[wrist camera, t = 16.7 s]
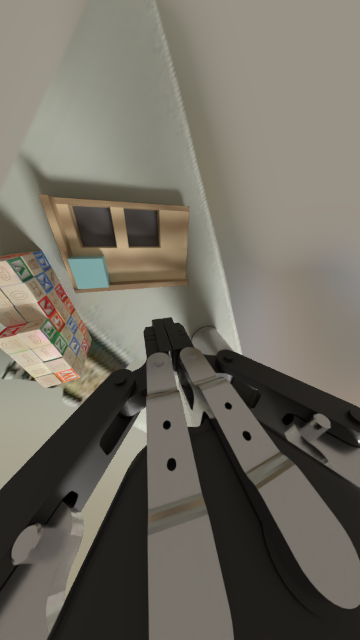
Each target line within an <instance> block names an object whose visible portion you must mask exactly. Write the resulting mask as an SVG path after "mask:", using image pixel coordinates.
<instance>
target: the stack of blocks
mask: <svg viewBox="0 0 360 640" xmlns="http://www.w3.org/2000/svg"><path fill="white" fill-rule="evenodd" d="M0 322H1V323H2V324H3V325H4V326H6V327H7V328H5V329H4V330H3V331H2V332H1V333H0V348H1V349H2V350H3V351H5V352H6V353H7V354H9V355H10V356H11V357H12V358H13V359H14V360H15V361H16V362H17V363H18V364H20V365H21V366H22V367H23V368H24V369H25V370H26V371H27V372H28V373H29V374H30V375H31V376H33V377H34V378H35V380H36V381H38V382H39V383H40V384H41V385H42V386H43V387H44V388H46V387H49V386H53V385H57V384H61V383H62V382H67V381H71V380H74V379H78V378H80V377H81V373H82V370H83V366H84V364H85V360H86V357H87V353H88V349H89V346H90V344H91V340H92V338H91V337H90V335H89V333H88V331H87V329H86V327H85V325H84V323H83V322H82V320H81V318H80V316H79V314H78V313H77V311H76V309H75V308H74V307H73V305H72V303H71V301H70V300H69V298H68V297H67V295H66V293H65V291H64V290H63V288H62V286H61V285H60V282H59V280H58V278H57V276H56V275H55V273H54V271H53V269H52V268H51V266H50V264H49V263H48V261H47V259H46V257H45V256H44V254H43V252H42V251H41V250H40V251H32V252H24V253H15V254H8V255H3V256H0Z"/></svg>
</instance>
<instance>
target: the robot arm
mask: <svg viewBox="0 0 360 640" xmlns="http://www.w3.org/2000/svg"><path fill="white" fill-rule="evenodd" d="M144 339H145V347H146V355H147V360H146V362H145V364H144V365H143V366H142V367H141V368H139V369H137V370H135V371H133V372H131V371H130V370H127V369H120V370H117V371H115V372H113V373H112V374H110V375H109V376H108V377H107V379H106V380H105V381H104V382H103V383H102V384H101V385H100V386H99V387H98V388H97V389H96V390H95V391H94V392H93V393H92V394H91V395H90V396H89V397H88V398H87V399H86V401H85V402H84V403H83V404H82V405H81V406H80V407H79V408H78V409H77V410H76V411H75V412H74V413H73V414H72V415H71V416H70V417H69V418H68V419H67V420H66V421H65V423H64V424H63V425H62V426H61V427H60V428H59V429H58V430H57V431H56V432H55V433H54V434H53V435H52V436H51V437H50V439H48V440H47V441H46V442H45V444H44V445H43V446H42V447H41V448H40V449H39V450H38V451H37V452H36V453H35V454H34V455H33V456H32V457H31V458H30V459H29V460H28V461H27V462H26V463H25V464H24V466H23V467H22V468H21V469H20V470H19V471H18V472H17V473H16V474H15V475H14V476H13V477H12V478H11V479H10V480H9V481H8V482H7V483H6V484H5V485H4V486H3V488H2V489H1V490H0V640H360V408H359V407H357V406H355V405H353V404H351V403H349V402H346V401H344V400H342V399H340V398H337V397H335V396H333V395H331V394H328V393H326V392H324V391H322V390H319V389H317V388H315V387H313V386H310V385H308V384H306V383H303V382H301V381H299V380H297V379H294V378H292V377H290V376H288V375H285V374H283V373H281V372H278V371H276V370H274V369H272V368H270V367H267V366H265V365H263V364H261V363H258V362H256V361H253V360H252V359H249V358H247V357H245V356H243V355H240V354H238V353H236V352H234V351H233V350H232V349H231V347H230V346H229V345H228V344H227V343H226V341H225V340H224V339H223V338H222V336H221V335H220V334H219V333H218V332H217V330H216V329H215V328H213V327H203V328H201V329H199V330H198V331H197V332H196V333H195V334H194V335H193V337H192V342H191V340H190V338H189V336H188V335H187V332H186V331H185V329H184V327H183V326H182V325H181V324H180V323H174V322H173V320H172V318H171V317H170V318H162V319H154V320H152V326H151V327H146V328H145V330H144ZM174 375H178V378H179V387H180V390H181V392H182V395H183V397H184V399H185V402H186V405H187V407H188V409H189V412H190V415H191V420H192V425H193V427H187V423H186V419H185V414H184V410H183V405H182V400H181V396H180V392H179V390H177V386H176V381H175V376H174ZM256 389H257V390H256ZM145 407H146V412H147V445H146V446H145V447H144V448H143V449H142V450H141V451H140V452H139V453H138V454H137V456H136V457H135V459H134V460H133V461H132V463H131V465H130V466H129V468H128V470H127V472H126V474H125V476H124V478H123V480H122V482H121V484H120V486H119V489H118V490H117V493H116V495H115V497H114V499H113V501H112V503H111V505H110V507H109V510H108V512H107V514H106V516H105V518H104V520H103V522H102V524H101V526H100V528H99V531H98V533H97V535H96V537H95V539H94V541H93V543H92V545H91V547H90V549H89V551H88V554H87V556H86V558H85V560H84V562H83V564H82V566H81V568H80V570H79V573H78V575H77V577H76V579H75V581H74V583H73V585H72V587H71V590H70V591H69V594H68V596H67V598H66V600H65V602H64V597H65V588H66V583H67V579H68V575H69V572H70V569H71V566H72V564H73V561H74V559H75V556H76V554H77V552H78V550H79V547H80V544H81V540H82V536H83V528H84V524H83V517H82V515H81V513H80V512H81V511H82V509H83V507H84V506H85V504H86V502H87V501H88V499H89V497H90V496H91V494H92V492H93V490H94V489H95V487H96V485H97V484H98V482H99V480H100V479H101V477H102V475H103V474H104V472H105V470H106V469H107V467H108V465H109V463H110V462H111V460H112V459H113V457H114V455H115V454H116V452H117V450H118V448H119V447H120V445H121V444H122V442H123V440H124V438H125V437H126V435H127V433H128V432H129V430H130V428H131V427H132V425H133V423H134V422H135V420H136V418H137V417H138V415H139V413H140V411H141V410H142V409H144V408H145Z"/></svg>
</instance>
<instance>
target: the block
mask: <svg viewBox="0 0 360 640" xmlns="http://www.w3.org/2000/svg"><path fill="white" fill-rule="evenodd" d="M68 262H69V265H70V268H71V270H72V273H73V276H74V279H75V282H76V284H77V287H78V289H90V288H105V287H109V285H110V278H109V274H108V270H107V265H106V261H105V256H104V255H102V256H72V257H70V258H69V259H68Z"/></svg>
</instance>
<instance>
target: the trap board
mask: <svg viewBox="0 0 360 640" xmlns="http://www.w3.org/2000/svg"><path fill="white" fill-rule="evenodd" d="M39 197H40V200H41V202H42V205H43V208H44V210H45V213H46V216H47V218H48V221H49V224H50V226H51V229H52V232H53V234H54V237H55V240H56V242H57V245H58V248H59V250H60V253H61V256H62V258H63V261H64V264H65V266H66V269H67V272H68V274H69V277H70V280H71V282H72V285H73V288H74V290H75V293H83V292H97V291H111V290H125V289H139V288H153V287H167V286H181V285H188V281H189V280H187V279H186V261H187V241H188V221H189V206H174V205H160V204H145V203H131V202H116V201H102V200H87V199H72V198H58V197H52V196H49V195H40V194H39ZM102 255H104V256H105V261H106V265H107V270H108V274H109V278H110V285H109V287H105V288H90V289H78V287H77V284H76V282H75V279H74V276H73V273H72V270H71V268H70V265H69V262H68V259H69V258H70V257H72V256H102Z"/></svg>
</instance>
